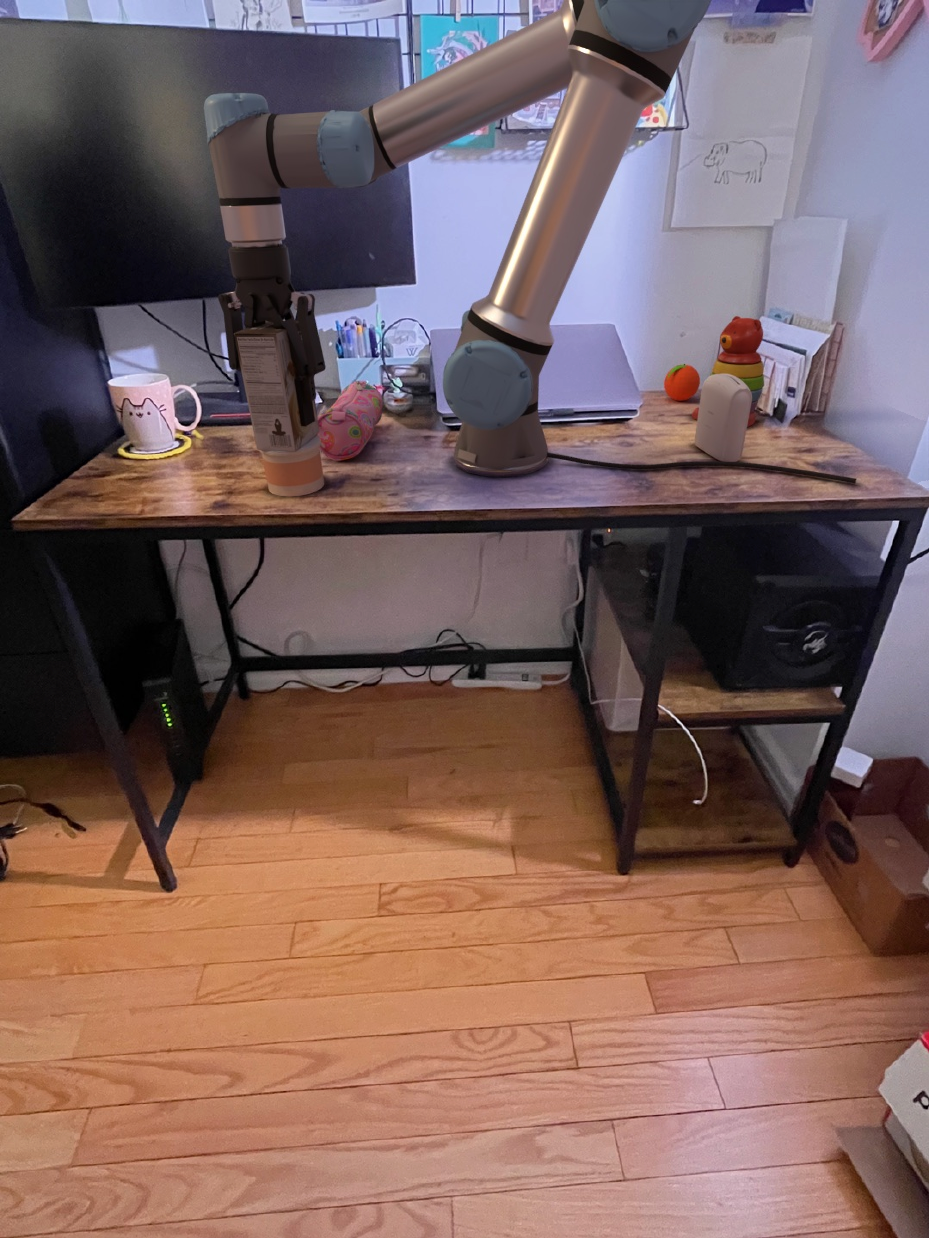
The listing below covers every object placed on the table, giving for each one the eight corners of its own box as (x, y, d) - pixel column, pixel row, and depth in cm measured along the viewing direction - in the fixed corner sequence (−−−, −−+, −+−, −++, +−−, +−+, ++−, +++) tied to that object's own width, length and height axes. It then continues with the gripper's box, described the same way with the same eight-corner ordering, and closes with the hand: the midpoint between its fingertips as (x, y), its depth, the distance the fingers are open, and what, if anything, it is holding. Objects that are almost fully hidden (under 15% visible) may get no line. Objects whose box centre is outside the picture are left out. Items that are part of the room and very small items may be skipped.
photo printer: (689, 444, 119) (700, 369, 113) (713, 442, 120) (725, 367, 113) (719, 464, 111) (733, 384, 104) (744, 462, 111) (760, 382, 105)
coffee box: (282, 431, 108) (263, 320, 100) (320, 432, 107) (305, 320, 99) (255, 450, 101) (232, 332, 92) (296, 452, 100) (277, 332, 91)
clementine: (677, 407, 138) (682, 370, 134) (651, 400, 143) (655, 364, 139) (704, 400, 142) (710, 364, 138) (678, 394, 147) (682, 358, 143)
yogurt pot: (337, 478, 110) (331, 434, 106) (307, 500, 103) (300, 454, 99) (286, 473, 113) (279, 430, 109) (253, 494, 106) (244, 448, 102)
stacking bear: (687, 416, 133) (701, 315, 124) (732, 410, 136) (750, 311, 126) (721, 432, 124) (739, 325, 115) (769, 425, 127) (791, 320, 117)
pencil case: (341, 425, 134) (335, 377, 129) (388, 425, 133) (384, 376, 129) (313, 464, 116) (305, 409, 111) (368, 463, 115) (362, 408, 111)
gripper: (339, 241, 90) (357, 419, 103) (211, 241, 96) (243, 410, 108) (309, 246, 84) (333, 434, 97) (175, 246, 90) (213, 423, 102)
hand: (285, 421), depth 102 cm, fingers closed on coffee box, 7 cm apart
